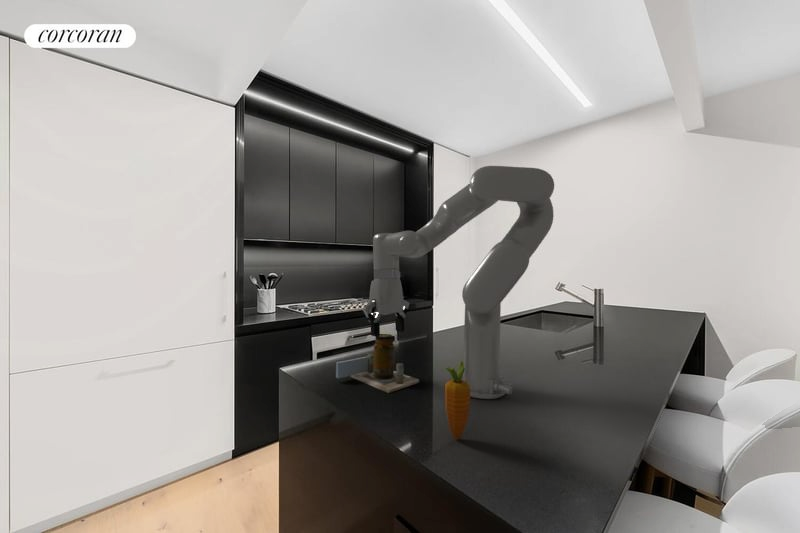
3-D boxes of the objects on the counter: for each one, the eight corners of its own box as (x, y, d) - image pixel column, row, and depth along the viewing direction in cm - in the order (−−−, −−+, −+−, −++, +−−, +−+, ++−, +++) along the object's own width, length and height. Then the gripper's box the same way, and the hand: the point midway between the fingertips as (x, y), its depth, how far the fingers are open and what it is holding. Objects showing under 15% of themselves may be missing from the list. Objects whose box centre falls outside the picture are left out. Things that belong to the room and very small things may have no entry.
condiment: (386, 370, 104) (386, 332, 104) (403, 377, 98) (404, 336, 98) (366, 375, 99) (367, 334, 99) (383, 383, 93) (384, 340, 93)
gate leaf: (366, 370, 103) (366, 356, 103) (367, 371, 102) (368, 357, 102) (336, 377, 96) (336, 362, 96) (337, 378, 95) (338, 363, 95)
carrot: (452, 448, 62) (454, 367, 62) (439, 435, 66) (440, 360, 66) (475, 443, 64) (476, 364, 64) (460, 431, 68) (461, 358, 68)
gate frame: (419, 382, 97) (419, 361, 97) (388, 393, 88) (388, 370, 88) (380, 368, 109) (381, 350, 109) (350, 376, 101) (350, 357, 101)
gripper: (398, 274, 107) (400, 328, 107) (355, 276, 95) (356, 336, 95) (415, 274, 102) (417, 330, 102) (371, 276, 90) (373, 340, 90)
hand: (388, 333), depth 98 cm, fingers open, 9 cm apart
